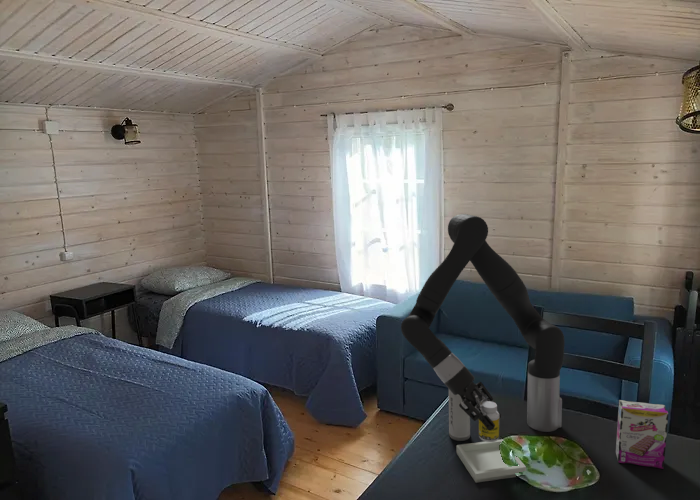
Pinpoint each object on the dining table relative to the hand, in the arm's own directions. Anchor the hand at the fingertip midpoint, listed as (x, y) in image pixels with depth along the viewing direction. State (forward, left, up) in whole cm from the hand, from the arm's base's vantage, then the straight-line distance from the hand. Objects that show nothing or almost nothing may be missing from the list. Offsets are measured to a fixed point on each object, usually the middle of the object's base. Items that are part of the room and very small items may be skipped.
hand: (495, 423), depth 140 cm
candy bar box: (-38, +7, -13) cm, 41 cm away
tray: (+1, -1, -13) cm, 13 cm away
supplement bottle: (+1, -1, -5) cm, 5 cm away
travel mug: (+4, -17, -13) cm, 22 cm away
